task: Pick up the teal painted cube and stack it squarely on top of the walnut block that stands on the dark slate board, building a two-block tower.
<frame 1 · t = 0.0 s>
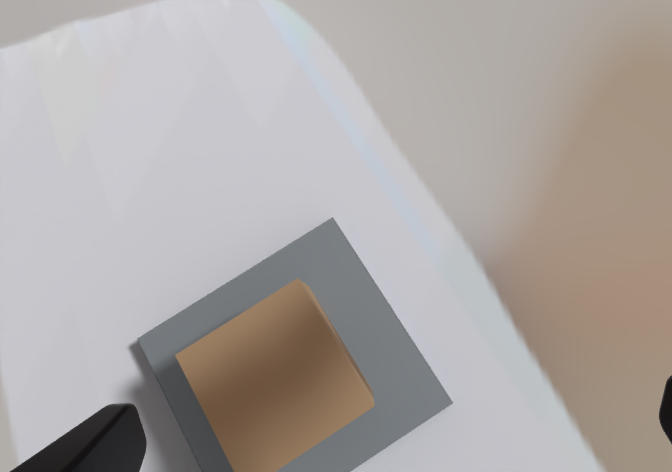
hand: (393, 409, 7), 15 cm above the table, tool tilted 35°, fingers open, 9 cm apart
walnut base block: (292, 367, 22), resting on slate board
slate board: (292, 367, 22), on the table
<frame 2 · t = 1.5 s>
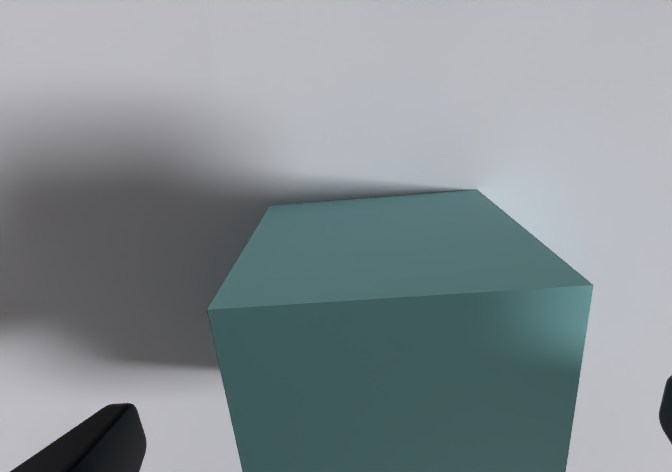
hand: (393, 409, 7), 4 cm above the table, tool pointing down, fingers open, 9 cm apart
teal cube: (377, 288, 11), on the table
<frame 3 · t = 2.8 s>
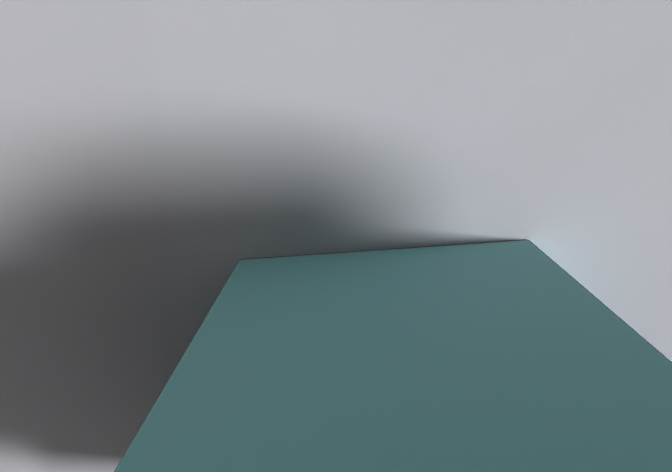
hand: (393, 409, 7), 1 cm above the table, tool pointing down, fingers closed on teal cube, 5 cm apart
teal cube: (387, 368, 8), on the table, touching gripper
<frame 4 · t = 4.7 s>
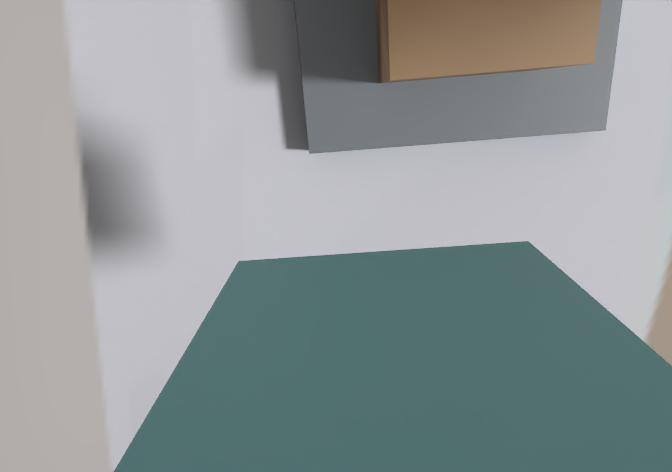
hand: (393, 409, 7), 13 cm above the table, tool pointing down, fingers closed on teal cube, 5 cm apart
teal cube: (386, 370, 8), point 12 cm above the table, touching gripper
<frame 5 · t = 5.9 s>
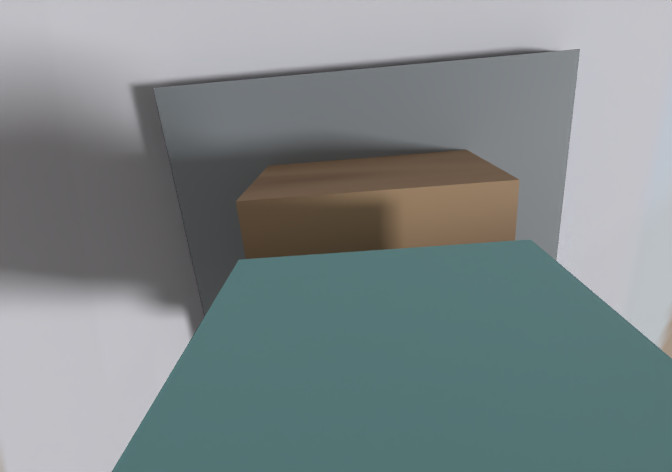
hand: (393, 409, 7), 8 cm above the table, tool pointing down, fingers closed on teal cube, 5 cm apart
walnut base block: (369, 238, 14), resting on slate board
slate board: (369, 238, 14), on the table
teal cube: (388, 369, 8), point 7 cm above the table, touching gripper
when the fingers open (7 cm above the table, at t = 6.9 s): teal cube stays where it is, resting on walnut base block.
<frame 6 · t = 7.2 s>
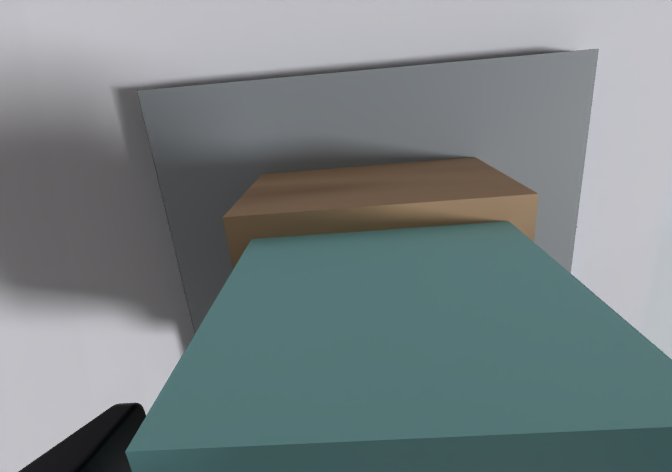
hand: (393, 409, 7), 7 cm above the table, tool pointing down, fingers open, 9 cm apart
walnut base block: (370, 250, 14), resting on slate board
slate board: (370, 250, 14), on the table
teal cube: (383, 339, 9), point 5 cm above the table, touching walnut base block
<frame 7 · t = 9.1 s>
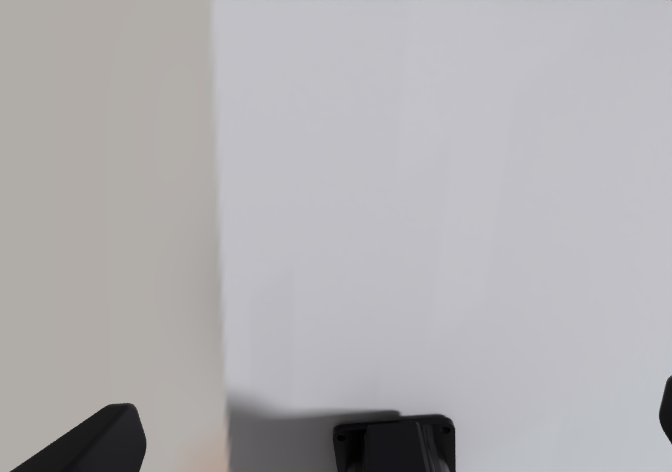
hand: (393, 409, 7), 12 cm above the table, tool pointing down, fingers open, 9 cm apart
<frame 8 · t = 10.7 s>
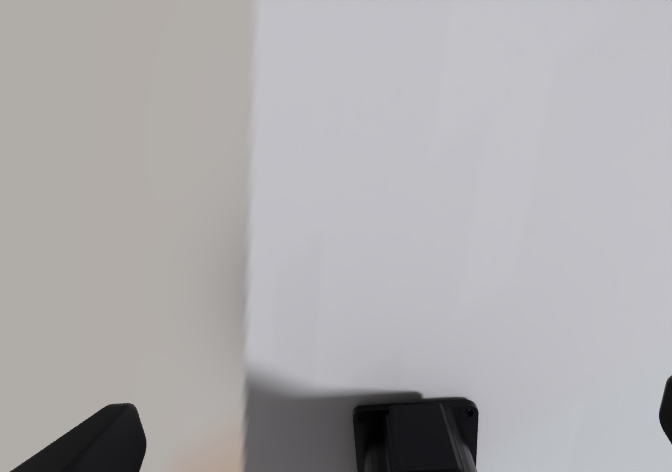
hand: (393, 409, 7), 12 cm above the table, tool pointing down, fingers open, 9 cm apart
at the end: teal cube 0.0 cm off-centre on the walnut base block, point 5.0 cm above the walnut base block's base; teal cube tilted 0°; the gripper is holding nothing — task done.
